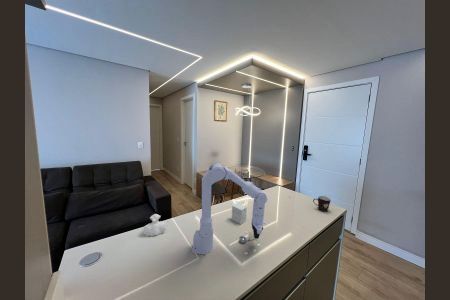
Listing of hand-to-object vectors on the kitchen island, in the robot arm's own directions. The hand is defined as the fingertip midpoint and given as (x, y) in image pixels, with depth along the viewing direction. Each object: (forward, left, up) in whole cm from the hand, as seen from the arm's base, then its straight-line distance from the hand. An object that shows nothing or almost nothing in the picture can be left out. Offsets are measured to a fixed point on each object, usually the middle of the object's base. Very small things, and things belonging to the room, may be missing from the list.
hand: (256, 237), depth 87 cm
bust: (-56, -2, -5) cm, 56 cm away
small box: (-11, +21, -5) cm, 24 cm away
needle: (-5, +3, -4) cm, 7 cm away
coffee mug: (+51, +54, -5) cm, 75 cm away
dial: (-7, +1, -5) cm, 9 cm away
